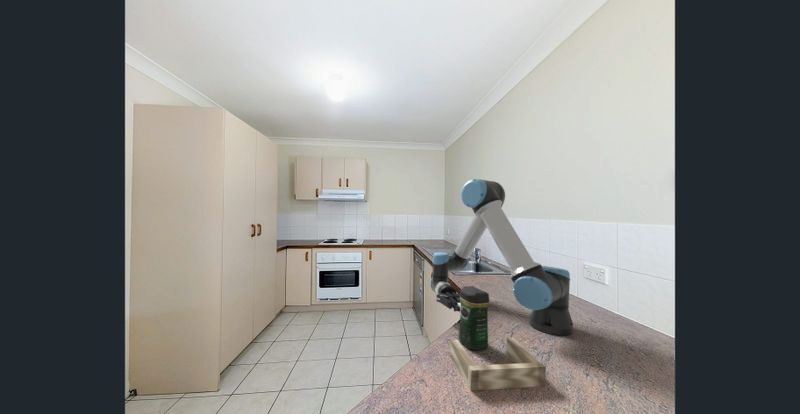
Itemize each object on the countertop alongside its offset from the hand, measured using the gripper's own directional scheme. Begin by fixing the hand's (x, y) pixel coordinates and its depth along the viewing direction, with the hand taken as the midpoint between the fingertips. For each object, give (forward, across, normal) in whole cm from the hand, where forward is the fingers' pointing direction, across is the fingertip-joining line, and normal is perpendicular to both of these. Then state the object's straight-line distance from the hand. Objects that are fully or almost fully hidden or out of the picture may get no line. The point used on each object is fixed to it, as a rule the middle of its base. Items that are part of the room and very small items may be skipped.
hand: (465, 312), depth 102 cm
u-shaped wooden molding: (+22, 0, -8) cm, 24 cm away
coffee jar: (+7, 0, -8) cm, 11 cm away
